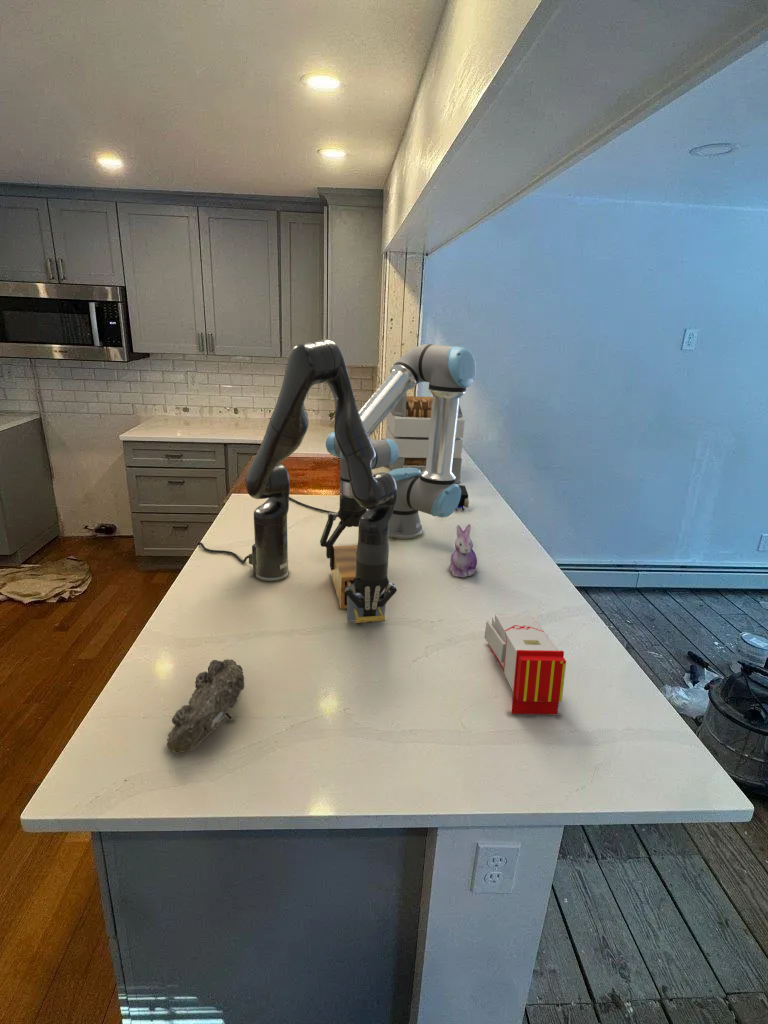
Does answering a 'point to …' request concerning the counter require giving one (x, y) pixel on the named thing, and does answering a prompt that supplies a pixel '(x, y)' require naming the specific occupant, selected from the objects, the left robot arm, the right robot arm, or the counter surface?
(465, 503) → the figurine character
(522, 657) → the toy
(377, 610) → the drawer
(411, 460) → the white slatted crate
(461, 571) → the figurine
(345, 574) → the cabinet
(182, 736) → the fossil
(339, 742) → the counter surface
